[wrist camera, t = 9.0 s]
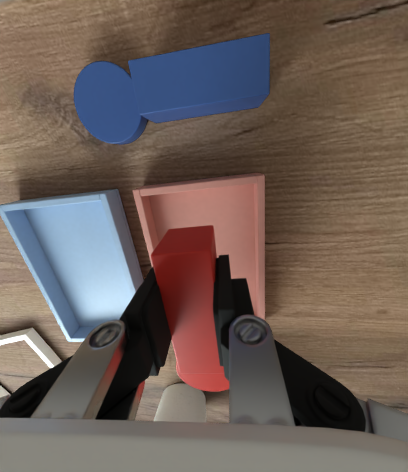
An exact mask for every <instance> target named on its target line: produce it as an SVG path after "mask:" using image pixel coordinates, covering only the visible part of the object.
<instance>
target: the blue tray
mask: <svg viewBox="0 0 408 472" xmlns="http://www.w3.org/2000/svg"><path fill="white" fill-rule="evenodd" d="M0 215H1V217H2V219H3V221H4V223H5V225H6V226H7V228H8V230H9V232H10V234H11V236H12V238H13V240H14V241H15V243H16V245H17V247H18V249H19V251H20V253H21V254H22V256H23V258H24V260H25V262H26V264H27V266H28V268H29V269H30V271H31V273H32V275H33V277H34V279H35V281H36V283H37V284H38V286H39V288H40V290H41V292H42V294H43V296H44V297H45V299H46V301H47V303H48V305H49V307H50V309H51V311H52V312H53V314H54V316H55V318H56V320H57V322H58V324H59V325H60V327H61V329H62V331H63V333H64V335H65V337H66V339H67V340H68V342H72V341H73V342H81V341H84V340H85V338H86V337H87V335H88V334H89V333H90V332H91V331H92V330H93V329H94V328H95V327H97V326H98V325H100V324H102V323H103V322H106V321H109V320H114V319H115V320H119V319H120V317H121V315H122V314H123V312H124V311H125V309H126V307H127V306H128V304H129V303H130V301H131V299H132V298H133V296H134V294H135V293H136V291H137V290H138V288H139V286H140V285H141V284H142V283H143V281H144V279H143V276H142V272H141V269H140V265H139V261H138V258H137V254H136V251H135V247H134V244H133V240H132V237H131V233H130V230H129V226H128V223H127V219H126V215H125V212H124V208H123V205H122V201H121V198H120V194H119V191H118V189H113V190H105V191H96V192H87V193H79V194H70V195H62V196H53V197H45V198H36V199H27V200H19V201H15V202H10V203H5V204H1V205H0Z"/></svg>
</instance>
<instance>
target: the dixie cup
mask: <svg viewBox="0 0 408 472" xmlns="http://www.w3.org/2000/svg"><path fill="white" fill-rule="evenodd" d="M154 421H169V422H201V423H207V421H206V398H205V395H204V393H203V392H202V391H201V390H199V389H196V388H194V387H191V386H190V385H188V384H181V383H180V384H173V385H170V386H168V387H167V388H166V389H165V390H164V392H163V395H162V398H161V401H160V404H159V407H158V409H157V412H156V415H155V418H154Z"/></svg>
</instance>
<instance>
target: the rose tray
mask: <svg viewBox="0 0 408 472" xmlns="http://www.w3.org/2000/svg"><path fill="white" fill-rule="evenodd" d="M133 194H134V198H135V202H136V206H137V210H138V214H139V218H140V222H141V226H142V230H143V234H144V237H145V241H146V245H147V249H148V253H149V257H150V261H151V265H152V267H153V264H152V260H151V254H152V252H153V251H154V249H155V248H156V246H157V245H158V244H159V242H160V241H161V239H162V238H163V237H164V235H165V234H166V232H167V231H168V229H174V228H185V227H196V226H207V225H213V226H214V235H215V244H216V253H217V258H219V255H228V254H229V261H230V271H231V279H236V278H246V279H247V283H248V288H249V292H250V297H251V301H252V306H253V310H254V315H255V316H258V317H260V318H262V319H263V320H265V175H264V174H261V173H250V174H242V175H233V176H224V177H216V178H207V179H199V180H190V181H182V182H173V183H165V184H156V185H147V186H141V187H139V188H136V189H134V190H133Z"/></svg>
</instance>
